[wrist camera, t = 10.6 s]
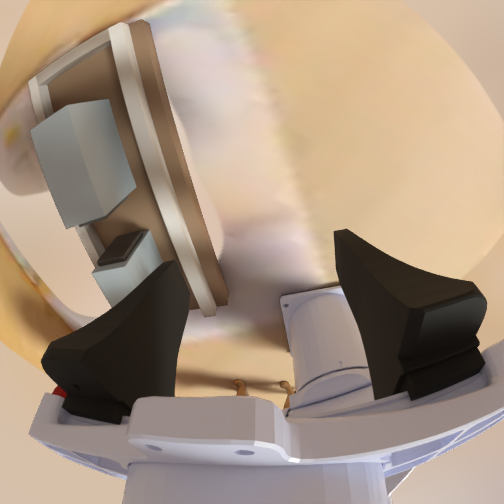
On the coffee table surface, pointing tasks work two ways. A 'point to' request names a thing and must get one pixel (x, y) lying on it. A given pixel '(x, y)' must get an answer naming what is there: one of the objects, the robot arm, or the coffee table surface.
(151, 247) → the raised edge track
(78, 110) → the gripped grey block
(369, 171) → the coffee table surface
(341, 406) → the robot arm
